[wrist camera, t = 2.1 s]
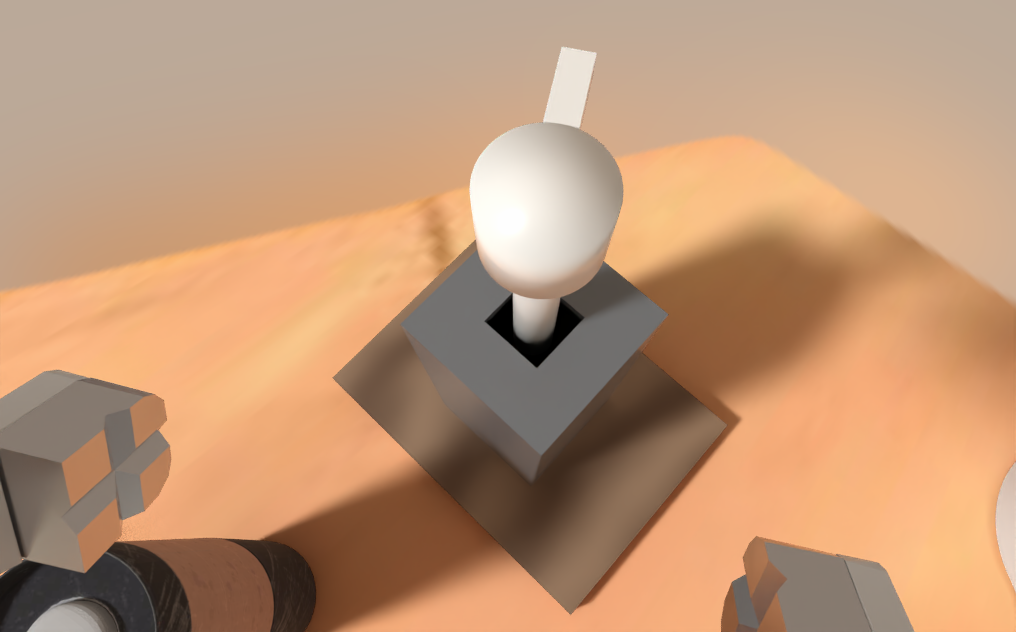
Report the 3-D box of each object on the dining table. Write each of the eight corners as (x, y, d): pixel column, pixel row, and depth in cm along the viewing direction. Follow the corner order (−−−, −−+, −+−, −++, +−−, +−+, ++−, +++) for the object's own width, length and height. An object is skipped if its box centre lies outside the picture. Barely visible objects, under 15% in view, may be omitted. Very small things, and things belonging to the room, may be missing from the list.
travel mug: (280, 512, 44) (99, 497, 25) (344, 608, 42) (202, 672, 23) (180, 589, 42) (-92, 636, 23) (242, 693, 40) (0, 836, 21)
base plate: (720, 428, 45) (727, 425, 44) (568, 611, 42) (570, 614, 40) (491, 233, 50) (490, 224, 49) (337, 382, 47) (332, 377, 45)
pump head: (624, 301, 30) (705, 132, 17) (535, 397, 29) (552, 289, 16) (549, 239, 31) (573, 36, 18) (460, 328, 30) (419, 175, 17)
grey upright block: (609, 398, 44) (668, 314, 27) (530, 486, 43) (541, 455, 26) (523, 322, 46) (528, 199, 29) (444, 404, 44) (400, 324, 27)
